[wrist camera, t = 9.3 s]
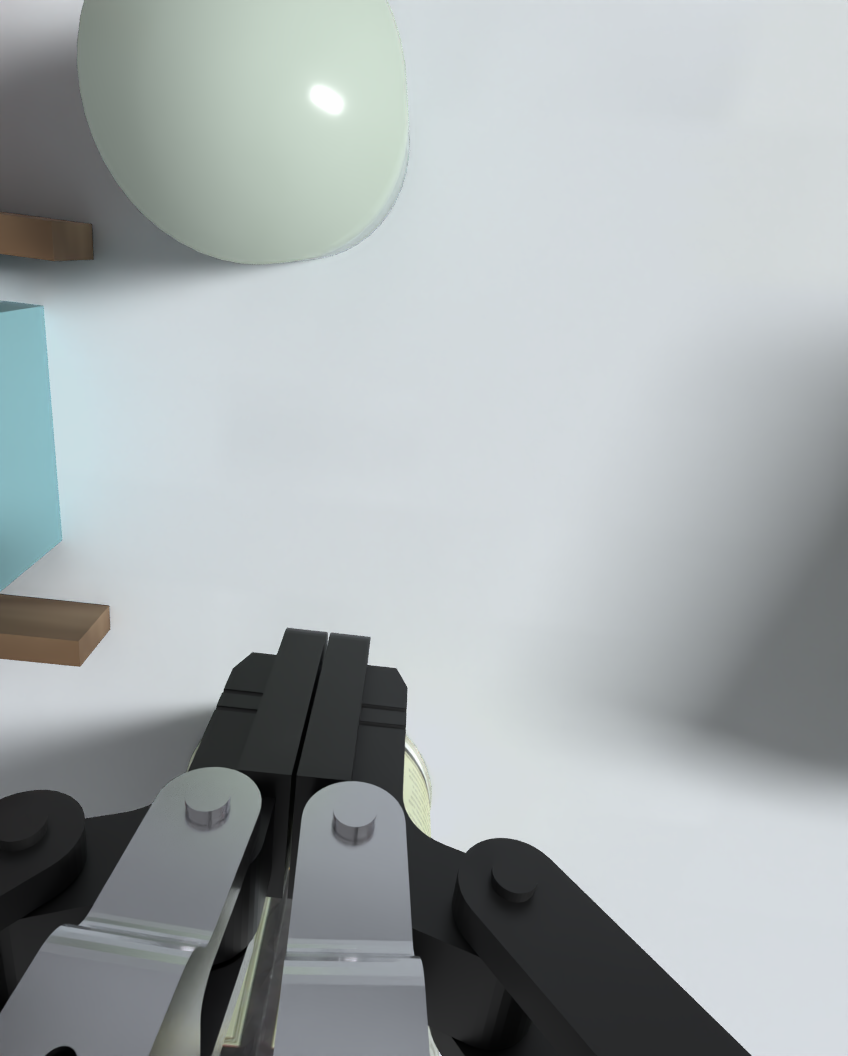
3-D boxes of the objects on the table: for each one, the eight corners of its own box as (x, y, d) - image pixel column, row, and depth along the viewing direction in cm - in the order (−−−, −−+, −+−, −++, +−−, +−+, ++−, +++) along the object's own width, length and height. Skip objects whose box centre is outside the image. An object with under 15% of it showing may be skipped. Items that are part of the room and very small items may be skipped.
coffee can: (332, 918, 32) (273, 1387, 19) (139, 804, 29) (-86, 1257, 16) (485, 783, 29) (543, 1224, 16) (287, 643, 26) (160, 1033, 13)
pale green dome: (187, -10, 19) (66, -147, 12) (422, 26, 19) (426, -87, 13) (186, 244, 21) (85, 242, 15) (396, 272, 22) (388, 283, 15)
